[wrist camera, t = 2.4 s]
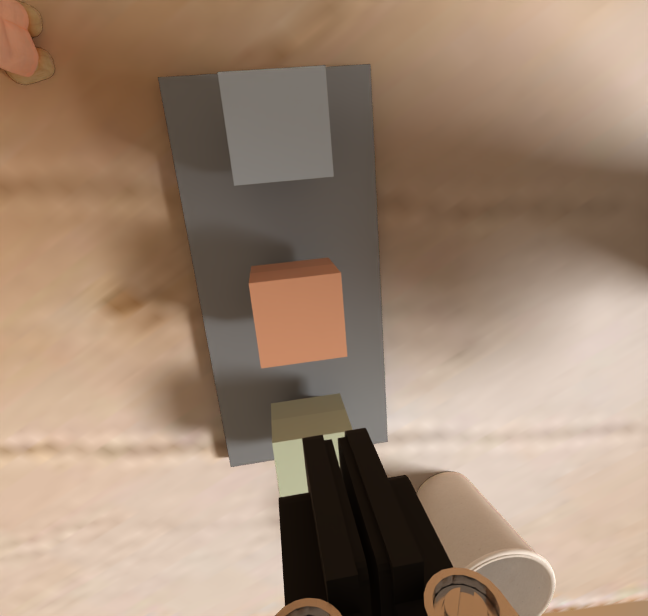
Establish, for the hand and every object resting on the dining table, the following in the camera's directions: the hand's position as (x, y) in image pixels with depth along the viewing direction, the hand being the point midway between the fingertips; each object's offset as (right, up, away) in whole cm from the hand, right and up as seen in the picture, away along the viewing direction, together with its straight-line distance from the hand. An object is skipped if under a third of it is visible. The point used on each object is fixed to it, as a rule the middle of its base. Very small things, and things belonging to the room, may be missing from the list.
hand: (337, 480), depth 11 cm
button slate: (-3, +15, +14) cm, 20 cm away
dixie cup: (+11, -13, +28) cm, 33 cm away
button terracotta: (-2, +5, +17) cm, 18 cm away
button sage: (-1, -4, +20) cm, 20 cm away
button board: (-3, +6, +20) cm, 21 cm away
